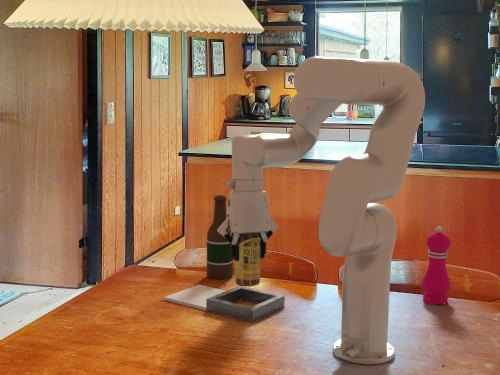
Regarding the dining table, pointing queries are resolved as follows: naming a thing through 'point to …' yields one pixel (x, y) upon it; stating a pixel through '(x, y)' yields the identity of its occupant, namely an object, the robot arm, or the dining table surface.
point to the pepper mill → (436, 269)
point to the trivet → (194, 296)
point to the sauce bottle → (248, 260)
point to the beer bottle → (219, 244)
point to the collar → (251, 314)
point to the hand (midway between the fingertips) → (248, 257)
